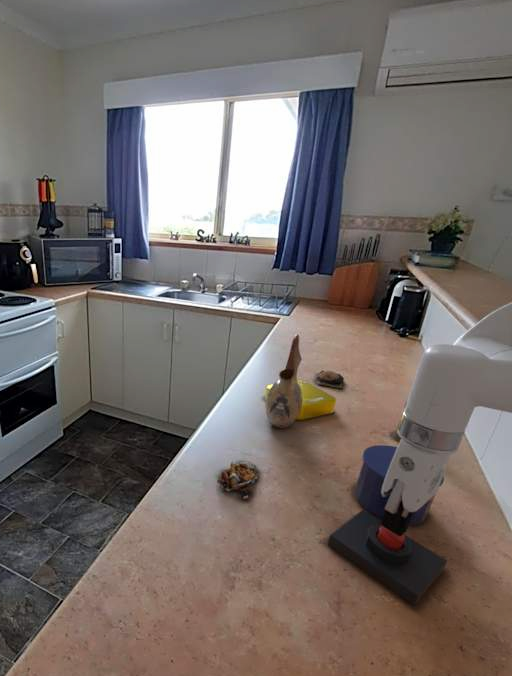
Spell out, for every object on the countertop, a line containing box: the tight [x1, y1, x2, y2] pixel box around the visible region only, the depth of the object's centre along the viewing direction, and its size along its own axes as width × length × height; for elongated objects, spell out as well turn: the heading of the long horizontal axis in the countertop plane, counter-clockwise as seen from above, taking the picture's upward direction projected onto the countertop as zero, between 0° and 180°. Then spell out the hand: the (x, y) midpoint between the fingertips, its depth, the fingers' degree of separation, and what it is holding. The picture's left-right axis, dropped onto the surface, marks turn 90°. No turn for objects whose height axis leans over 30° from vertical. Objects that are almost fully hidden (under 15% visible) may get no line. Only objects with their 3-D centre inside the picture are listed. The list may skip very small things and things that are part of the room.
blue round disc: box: [362, 444, 445, 488], centre depth 75 cm, size 14×14×6 cm
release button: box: [377, 526, 405, 550], centre depth 65 cm, size 4×4×2 cm
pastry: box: [216, 460, 260, 500], centre depth 83 cm, size 7×12×4 cm, turn 153°
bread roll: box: [316, 370, 345, 389], centre depth 134 cm, size 11×8×4 cm
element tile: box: [264, 379, 337, 421], centre depth 116 cm, size 15×15×5 cm
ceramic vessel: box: [264, 334, 303, 429], centre depth 101 cm, size 16×9×25 cm, turn 154°
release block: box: [327, 509, 448, 607], centre depth 66 cm, size 14×11×4 cm
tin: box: [354, 460, 437, 527], centre depth 78 cm, size 13×13×8 cm
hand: (392, 528), depth 64 cm, fingers closed
